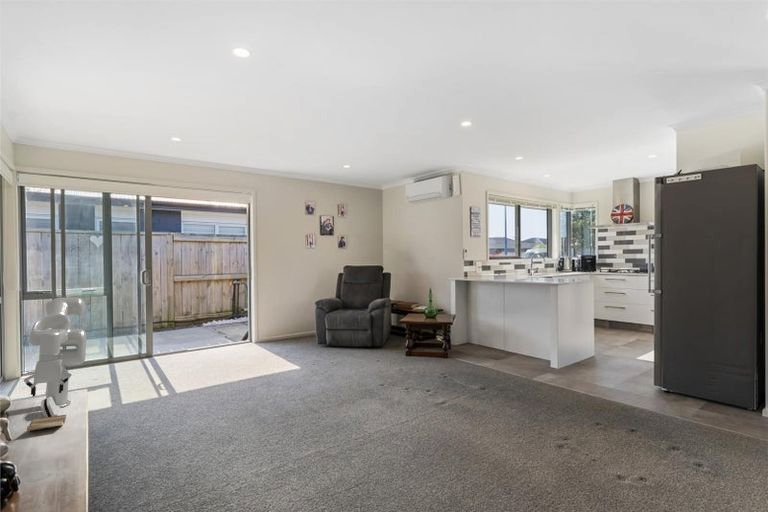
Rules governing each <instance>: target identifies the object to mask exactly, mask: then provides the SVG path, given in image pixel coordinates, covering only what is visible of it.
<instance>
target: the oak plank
mask: <svg viewBox="0 0 768 512" xmlns="http://www.w3.org/2000/svg"><path fill="white" fill-rule="evenodd" d="M63 423H64V422H63V421H59V422H53V423H47V424H40V425H34V426H31V425H29V426H27V427H26V430H27V431H29V432H32V431H37V430H45V429H50V428H57V427H63V426H64V424H65V423H64V424H63Z"/></svg>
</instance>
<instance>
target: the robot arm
mask: <svg viewBox="0 0 768 512" xmlns="http://www.w3.org/2000/svg"><path fill="white" fill-rule="evenodd" d="M45 310H46V311H45V312H46V316H43V317H42V318H39V320H37V321H35V323H34V324H32V327H31V330H30V333H29V336H28V341H29V344H30V345H32V346H35V347H36V346H37V347H38V346H39V354H38V361H36V363H35V367H34V373H33V374H31V375H29V376H27V377H26V378H24V379H23V382H24V383H25V384H26V386H28V387H29V388H30V395H31V396H32V397H35V396H36V390H37V385H38V384H46V386H45V387H46V388H45V389H46V391H45V399H47V398H48V397H52V398H53V400H54V402H55V404H56V405H57V406H59V407H60V409H61V408H65V407H68V406H69V405H70V404H71V403H72V402H71V400H70V399H68V398H69V397H68V394H69V380H70V378H71V376H72V373H70V372H69V370H68V369H66V368H65V367H67V366H69V367H70V366H77V365H78V366H79V365H82V364H83V363H85V360H86V353H87V352H86V350H87V333H86V331H85V330H84V329H81V328H78V329H77V328H76V329H71V325H72V321H71V319H70V317H69V316H75V315H76V316H77V315H78V316H79V315H82V314H84V313H85V310H86V302H85V301H84V299H83V298H81V297H74V296H73V297H57V298H53V299H52V300H50V301H48V302H46V303H45ZM63 347H75V348H63ZM31 379H33V383H32V382H31V381H30V380H31Z"/></svg>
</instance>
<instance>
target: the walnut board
mask: <svg viewBox="0 0 768 512" xmlns="http://www.w3.org/2000/svg"><path fill="white" fill-rule="evenodd" d="M66 418H67V414H61V415H58V416H53V417H47V418H45V417H41V418H40V417H39V418H34V419H32V421H31V424H30V426H34V425H40V424H47V423H53V422H59V421H63V422H64V423H63V425H65V422H66Z"/></svg>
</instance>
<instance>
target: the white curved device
mask: <svg viewBox="0 0 768 512" xmlns="http://www.w3.org/2000/svg"><path fill="white" fill-rule="evenodd" d="M40 409H41V412H42V414H43V416H44V417H43V418H47V417H53V416H59V412H60V410H61V408H60V407H59V406H57V405H56V404H55V402H54V400H53V398H52V397H48V398H47V399H46V398H43V399H42V400H41V402H40Z"/></svg>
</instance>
